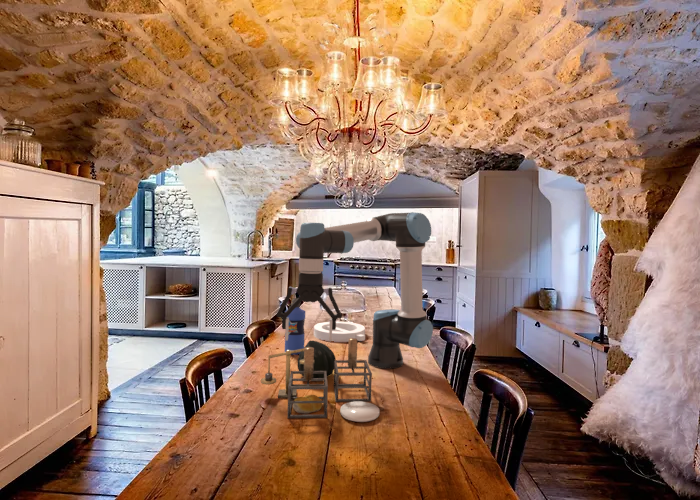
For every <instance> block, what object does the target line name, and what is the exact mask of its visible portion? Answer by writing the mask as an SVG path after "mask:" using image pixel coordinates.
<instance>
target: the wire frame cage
mask: <svg viewBox="0 0 700 500" xmlns="http://www.w3.org/2000/svg"><path fill="white" fill-rule="evenodd" d="M313 365H314V348H313V347H306V348H304V371H299V370H290V380H289V386H288V398H287V416H286V417H287V419H327V418H328V400H329V399H328V396H329V395H328V391H329V390H328V389H329V385H328V376H327V374H326V371H313ZM301 374H304V377H302V378H294V375H301ZM313 374H324V378H313ZM320 381H321V382H323V383H320V384H319V383H314V384H313V383H312V384H311V383H310V382H320ZM294 382H306V383H305V384H302V383H301V384H300V383H299V384H296V383H295V384H294ZM293 389H297V390H323V393H322V394H323V396H318V397H319V398H320V399H321V401H294V400H295V399H296V398H297V397H298V396H296V397H293ZM293 403H322V404H323V413H324V414H322V413H320V414H291V413H292V407H293Z"/></svg>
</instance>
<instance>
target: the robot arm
mask: <svg viewBox="0 0 700 500" xmlns="http://www.w3.org/2000/svg"><path fill="white" fill-rule="evenodd" d="M431 235H432V226H431V222H430V220H429V218H428V217H427V216H426V215H425V214H424V213H422V212H413V211H412V212H411V211H410V212H397V213H396V212H391V213H386V214H382V215H379V216H375V217H369V218H367V219H366V220H364V221H359V222H351V223H346V224H340V225H334V226H328V227H325V224H324V223H322V222H303V223H301V224H300V230H299V232H298V233H297V234H296V237H295V238H296V239H295V243H296V246H297V248H298V249H299V258H298V271H299V273H298V280H297V281H298V283H297V284H298V286H297V287H292V286H289V287H288V289H287V294H286V296H285V298H284V300H283V301H282V303H281V305H280V307H279V309H278V311H277V312H276V314H275V315H276V317H277V318H280V319H281V322H282V323H281V328H282V330H285V332H284V342H285V341H288V330H289V318H287V316H288V315H289V314H290V313H291V312H292V311H293V310H294V309H295V308H296V307H297V305H298V304H299V303H300V304H301V302H302V301H303V302H304V303H316V302H318V304H320V306H322V308H323V309H324V310H325V311H326V313H327V314H328V315H329V317H330V318H329V322H330V323H329V341H328V342H331V341H332V330H335V329H336V322H337V320H338V319H341V318H342V317H343V316H342V312H341V311H340V308H339V307H338V303H337V302H336V299H335V297H334V295H333V288H332V287H327V288H324V286H323V283H324V282H323V281H324V278H323V277H324V274H323V273H322V272H324V255H325V254H346V253H347V254H348V253H351V251H352V250H353V248H354V245H355V244H354V243H359V242H365V241H371V242H376V241H377V242H378V241H385V242H395V248H396V249H397V250H398V251H399V265H400V266H399V268H400V269H399V271H400V273H399V274H400V309H397V308H396V309H380V310H379V309H378V310H376V311H375V312H374V313H373V319H372V345H371V349H370V351H369V354H368V358H367V363H368V365H370V366H371V367H375V368H381V369H396V368H397V369H398V368H401V367H402V366H403V365H404V357H403V354H402V353H403V352H402V350H401V347H400V345H403V346H407V347H410V348H415V349H423V348H425V347H426V346H427V345H428V344H429V343H430V341H431V339H432V336H433V332H434V328H433V327H434V325H433V324H432V321H430V320H429V319H427V318H428V317H427V316H428V315H427V312H426V311H425V310H424V309H423V262H422V261H423V259H422V258H423V255H422V254H423V252H422V251H423V250H424V249H425V248H426V243H427V242H428V241H429V240H430V239H431ZM295 293H297V295H298V297H297V298H298V299H297V300H296V301H295V302H294V303H293V302H292V303H293V304H292V305H291V304H290V306H289V307H288V309H286V310H285V308H286V306H287V304H288V301H290V299H291V296H292V295H294V294H295ZM324 293H325V294H326V296H329V300H330V302H331V304H332V306H333V309H334V310H335V313H334V312H333V311H332V309H331V308H330V307H329V306H328V304H327V303H326V302H325V301H324V299H323V298H322V295H323V294H324ZM284 310H285V311H286V312H285V311H284ZM283 311H284V313H283Z"/></svg>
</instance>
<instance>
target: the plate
mask: <svg viewBox="0 0 700 500" xmlns="http://www.w3.org/2000/svg"><path fill="white" fill-rule="evenodd" d="M339 411H340V412H339V413H340V415H341V416H342V418H344V419H346V420H348V421H352V422H359V423H364V422H371V421H374V420H377V418H378V417H379V416H380V408H379V407H378V406H377V405H376V404H374V403H371V402H363V401H354V402H345V403H344V404H342V405H341V406H340V410H339Z"/></svg>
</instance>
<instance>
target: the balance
mask: <svg viewBox="0 0 700 500" xmlns="http://www.w3.org/2000/svg"><path fill="white" fill-rule="evenodd" d="M302 351H304V348H303V349H298V350H294V351H290V350H287V351H286V352H285V351H283V352H280V353H274V354H271V355H268V363H267V364H268V365H267V366H268V367H267V372H266V373H265V374H264V377H263V378H262V379H261V380H260V382H261V384H263V385H273V384H276V383H277V378H275V377H273V373H272V372H270V370H271V368H270V367H271V366H270V365H271V359H272V358H278V357H283V356H285V389H283V388H282V389H281V388H280V389H278V392H277V399H288V386H289V380H290V374H291V356H292V355H291V354H293V353H297V352H302ZM300 364H302V365H304V359H301V360H300ZM297 391H298V389H293V397H297V393H298V392H297Z"/></svg>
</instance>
